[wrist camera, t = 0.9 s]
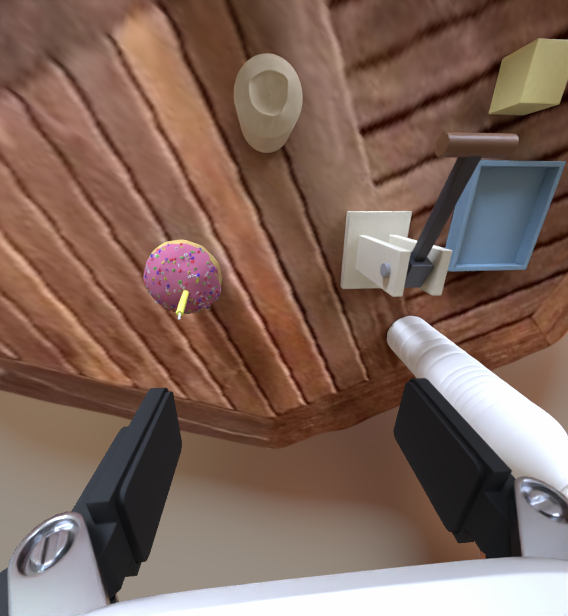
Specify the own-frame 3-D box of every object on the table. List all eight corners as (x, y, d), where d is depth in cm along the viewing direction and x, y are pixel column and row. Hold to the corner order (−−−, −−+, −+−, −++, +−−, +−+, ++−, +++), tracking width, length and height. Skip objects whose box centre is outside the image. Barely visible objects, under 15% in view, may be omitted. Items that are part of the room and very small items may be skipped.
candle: (277, 83, 27) (287, 26, 18) (298, 139, 30) (316, 113, 20) (231, 109, 28) (217, 66, 19) (255, 162, 30) (253, 147, 21)
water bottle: (378, 332, 41) (532, 508, 18) (413, 306, 39) (630, 460, 16) (404, 366, 44) (566, 554, 21) (438, 343, 42) (650, 515, 19)
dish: (465, 162, 32) (478, 160, 30) (548, 163, 33) (566, 161, 31) (440, 267, 37) (450, 271, 35) (512, 266, 38) (526, 269, 36)
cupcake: (239, 273, 35) (230, 308, 24) (193, 311, 36) (165, 360, 25) (191, 220, 32) (156, 233, 21) (144, 264, 33) (87, 297, 22)
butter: (502, 58, 28) (538, 37, 25) (540, 60, 29) (581, 40, 25) (487, 114, 30) (519, 103, 27) (523, 115, 31) (559, 104, 27)
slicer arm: (438, 127, 18) (456, 138, 16) (505, 129, 18) (528, 139, 17) (379, 272, 28) (387, 288, 26) (424, 271, 28) (434, 287, 27)
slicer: (346, 211, 33) (389, 218, 22) (407, 211, 34) (477, 218, 23) (340, 286, 37) (373, 323, 26) (394, 284, 38) (449, 320, 27)
